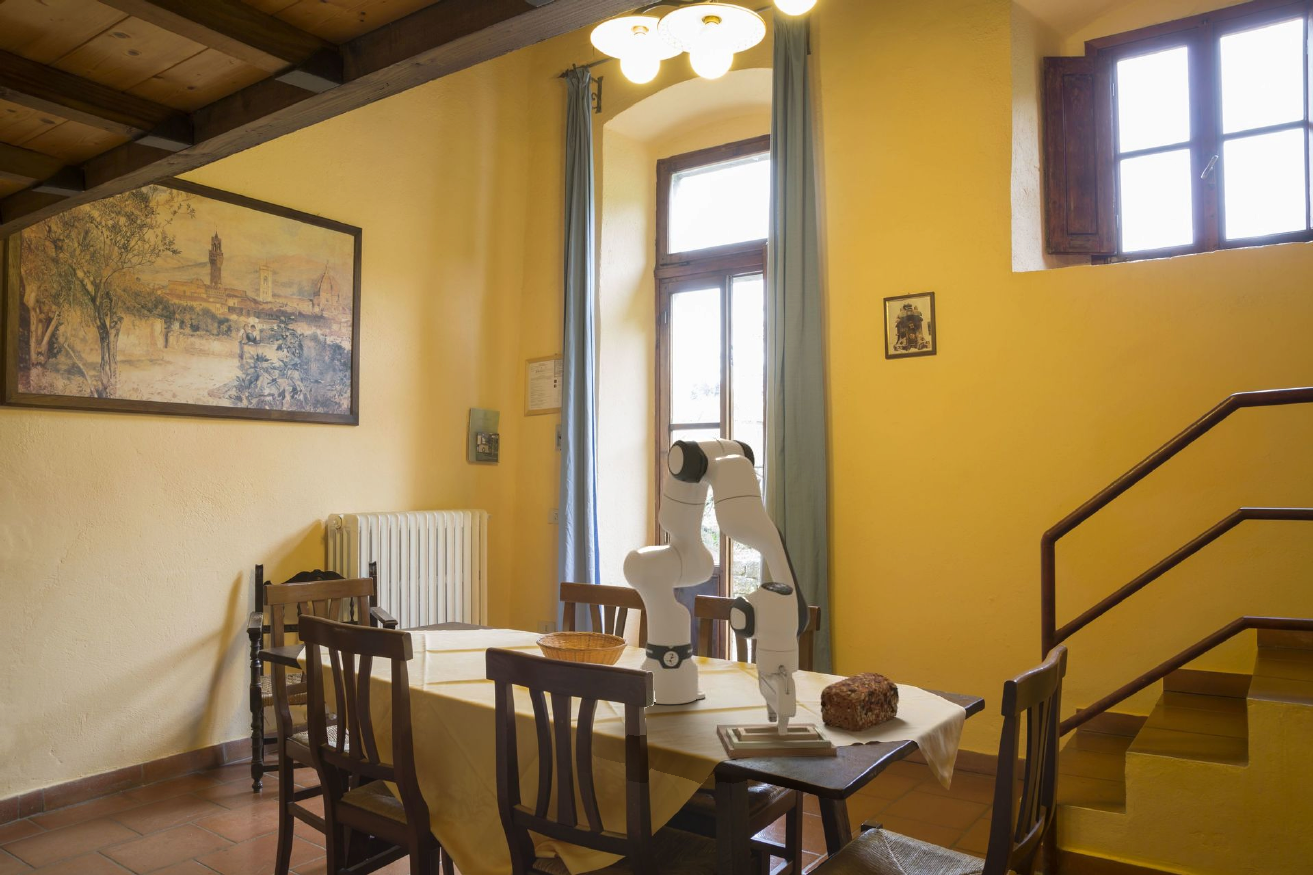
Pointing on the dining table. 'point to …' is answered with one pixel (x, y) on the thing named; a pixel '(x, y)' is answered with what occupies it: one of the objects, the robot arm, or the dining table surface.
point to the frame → (776, 733)
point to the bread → (859, 701)
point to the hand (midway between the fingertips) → (777, 727)
